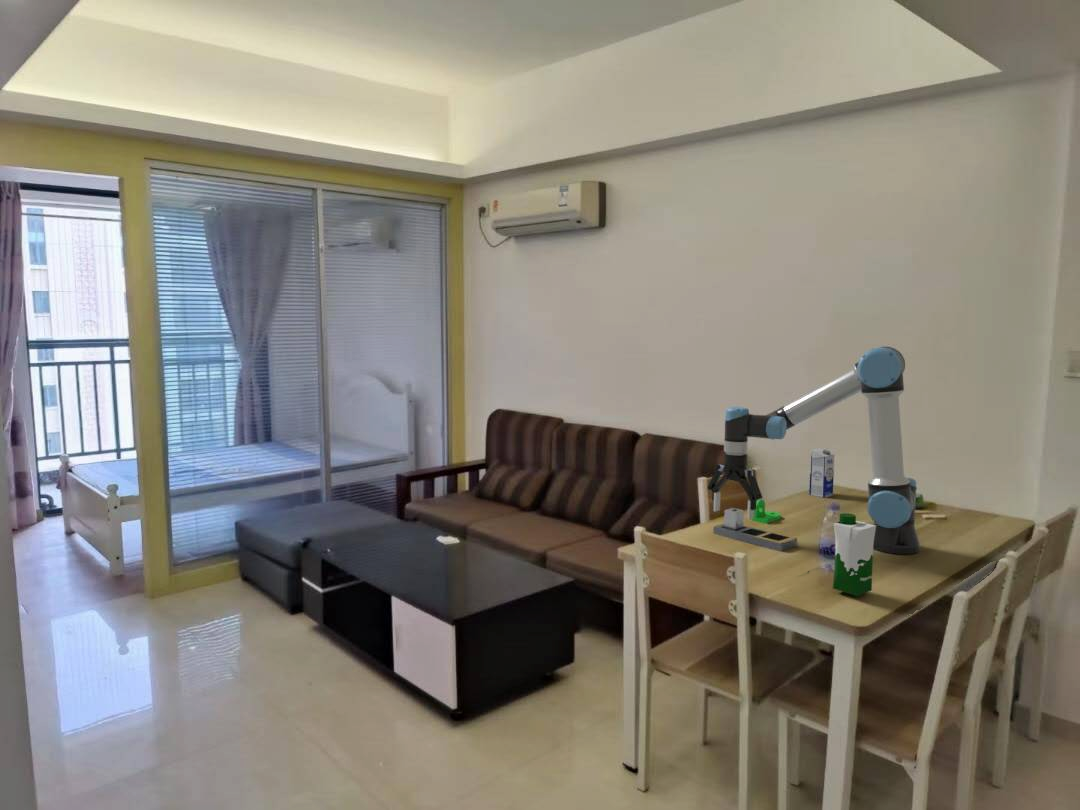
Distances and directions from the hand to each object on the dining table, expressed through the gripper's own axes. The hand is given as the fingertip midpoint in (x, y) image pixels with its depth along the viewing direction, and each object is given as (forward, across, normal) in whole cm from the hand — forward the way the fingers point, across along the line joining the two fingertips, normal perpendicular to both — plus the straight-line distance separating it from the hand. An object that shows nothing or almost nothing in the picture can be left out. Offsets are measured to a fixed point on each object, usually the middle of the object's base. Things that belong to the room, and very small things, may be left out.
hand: (733, 514), depth 248 cm
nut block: (+6, 0, 0) cm, 6 cm away
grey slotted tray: (+7, -8, 0) cm, 11 cm away
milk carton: (+7, +9, -73) cm, 74 cm away
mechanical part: (+7, +3, -25) cm, 27 cm away
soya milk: (+7, -52, +20) cm, 56 cm away
